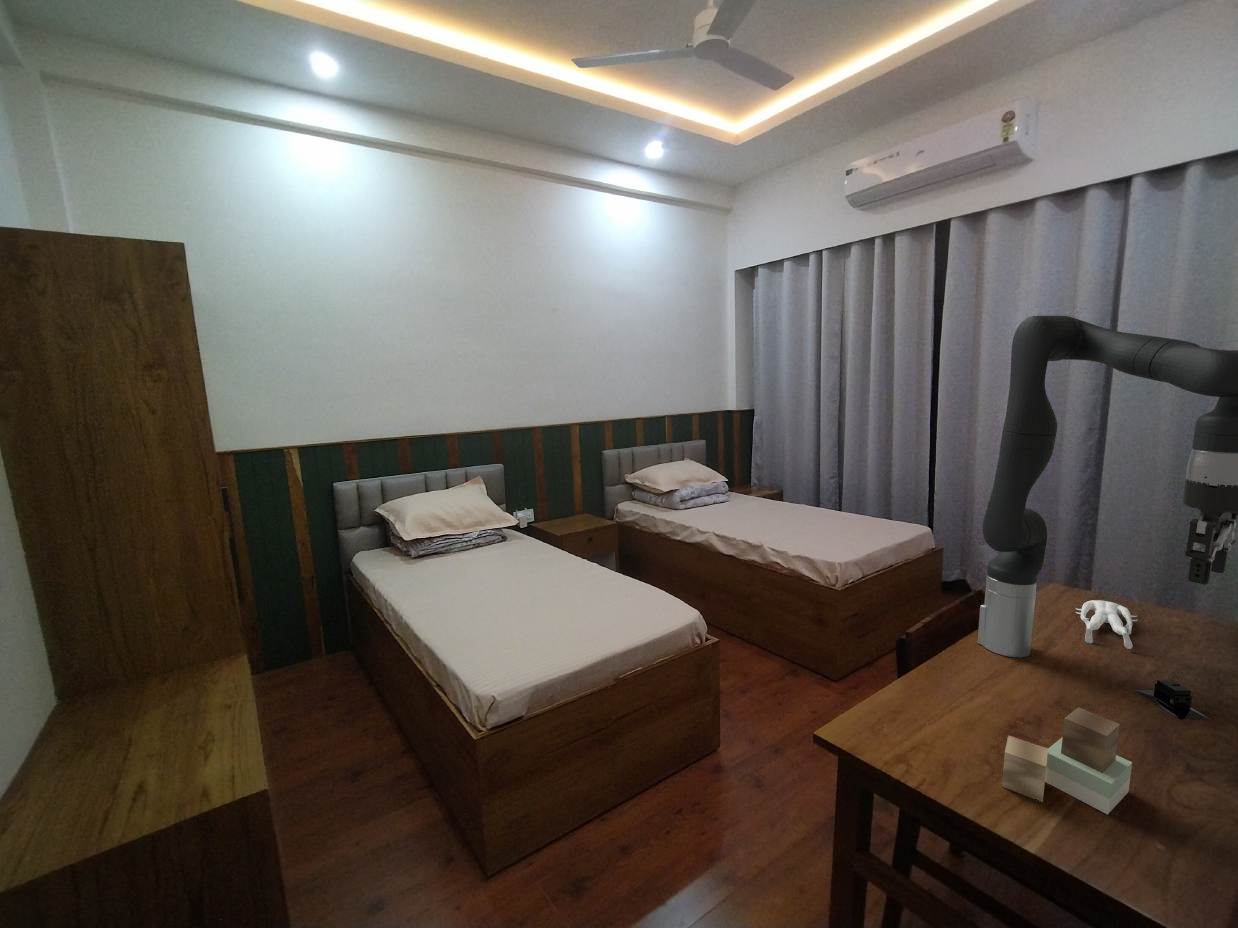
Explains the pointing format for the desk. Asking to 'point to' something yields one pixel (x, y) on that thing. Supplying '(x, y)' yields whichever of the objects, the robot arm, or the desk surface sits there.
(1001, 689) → the desk surface
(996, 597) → the robot arm
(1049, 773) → the brick base
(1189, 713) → the black angular block
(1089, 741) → the walnut brick
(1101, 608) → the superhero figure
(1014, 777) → the brick
